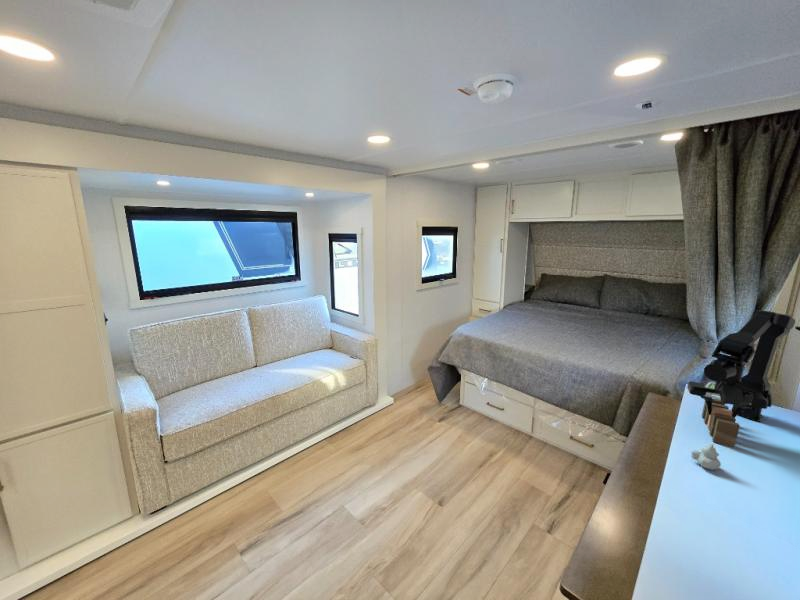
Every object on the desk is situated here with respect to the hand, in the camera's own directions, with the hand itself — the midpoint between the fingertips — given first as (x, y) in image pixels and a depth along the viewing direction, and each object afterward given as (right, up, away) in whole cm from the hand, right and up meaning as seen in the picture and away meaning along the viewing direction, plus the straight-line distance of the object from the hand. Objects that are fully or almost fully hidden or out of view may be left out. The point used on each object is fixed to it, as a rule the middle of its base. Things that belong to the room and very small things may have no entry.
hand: (720, 416), depth 112 cm
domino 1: (+4, -4, +8) cm, 10 cm away
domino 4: (-2, -6, -2) cm, 7 cm away
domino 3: (0, -5, +1) cm, 5 cm away
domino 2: (+2, -5, +5) cm, 7 cm away
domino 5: (-4, -7, -5) cm, 10 cm away
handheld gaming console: (+25, 0, +26) cm, 36 cm away
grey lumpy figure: (-19, -10, -15) cm, 26 cm away
